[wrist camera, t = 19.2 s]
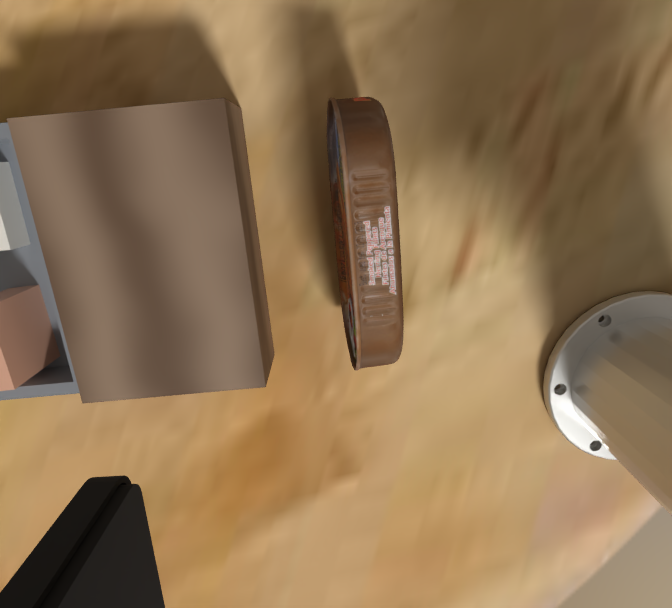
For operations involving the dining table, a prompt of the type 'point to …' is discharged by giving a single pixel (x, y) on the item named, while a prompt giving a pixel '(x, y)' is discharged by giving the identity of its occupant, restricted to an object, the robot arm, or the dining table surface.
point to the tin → (366, 229)
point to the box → (26, 271)
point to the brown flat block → (150, 246)
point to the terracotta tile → (24, 336)
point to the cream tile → (10, 213)
